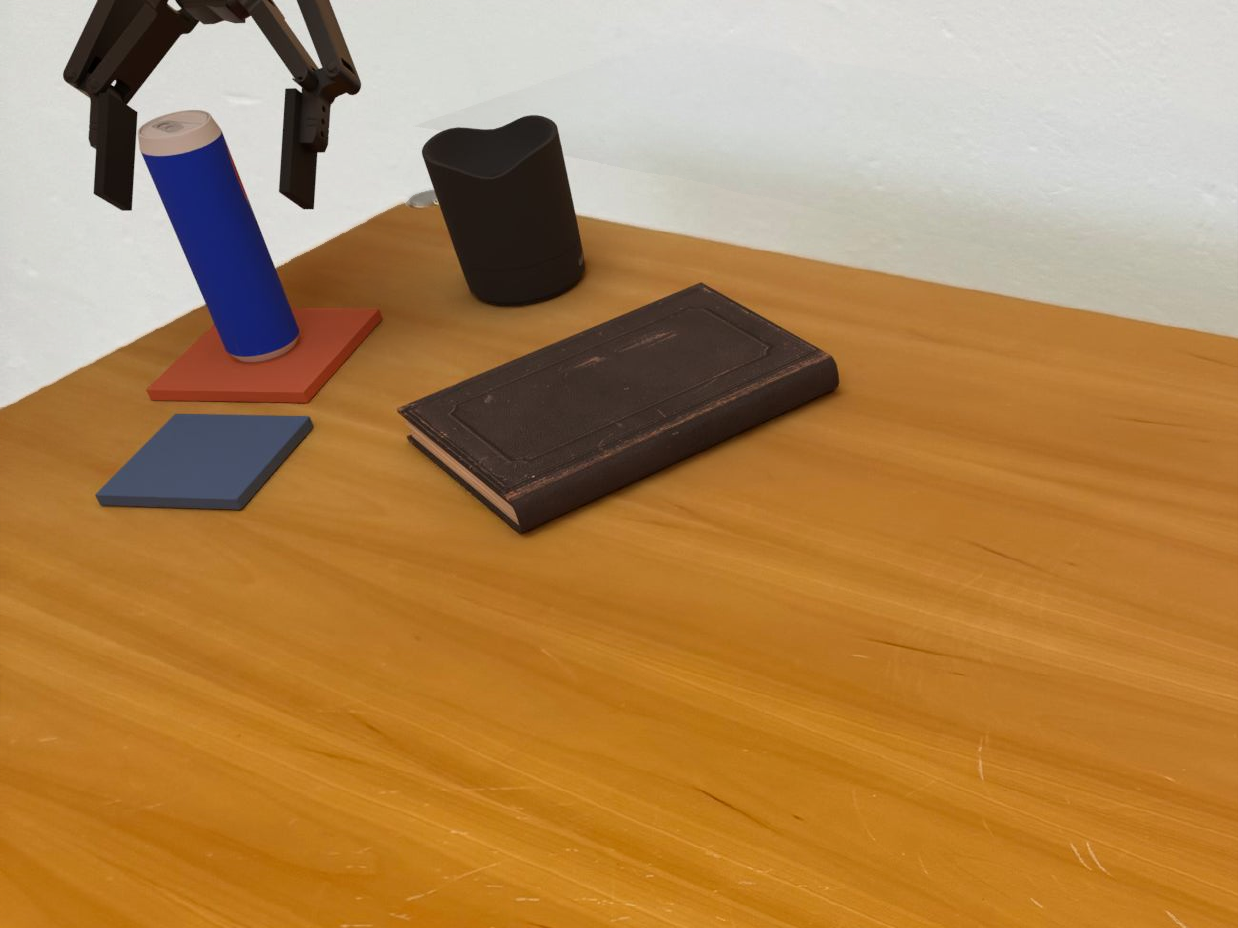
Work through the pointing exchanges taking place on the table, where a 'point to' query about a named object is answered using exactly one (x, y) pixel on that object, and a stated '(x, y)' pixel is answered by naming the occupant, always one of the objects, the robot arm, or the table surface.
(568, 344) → the hardcover book
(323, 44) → the robot arm
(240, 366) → the terracotta mat
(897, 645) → the table surface
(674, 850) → the table surface
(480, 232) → the pen holder
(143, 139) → the beverage can
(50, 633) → the table surface
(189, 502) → the blue mat
